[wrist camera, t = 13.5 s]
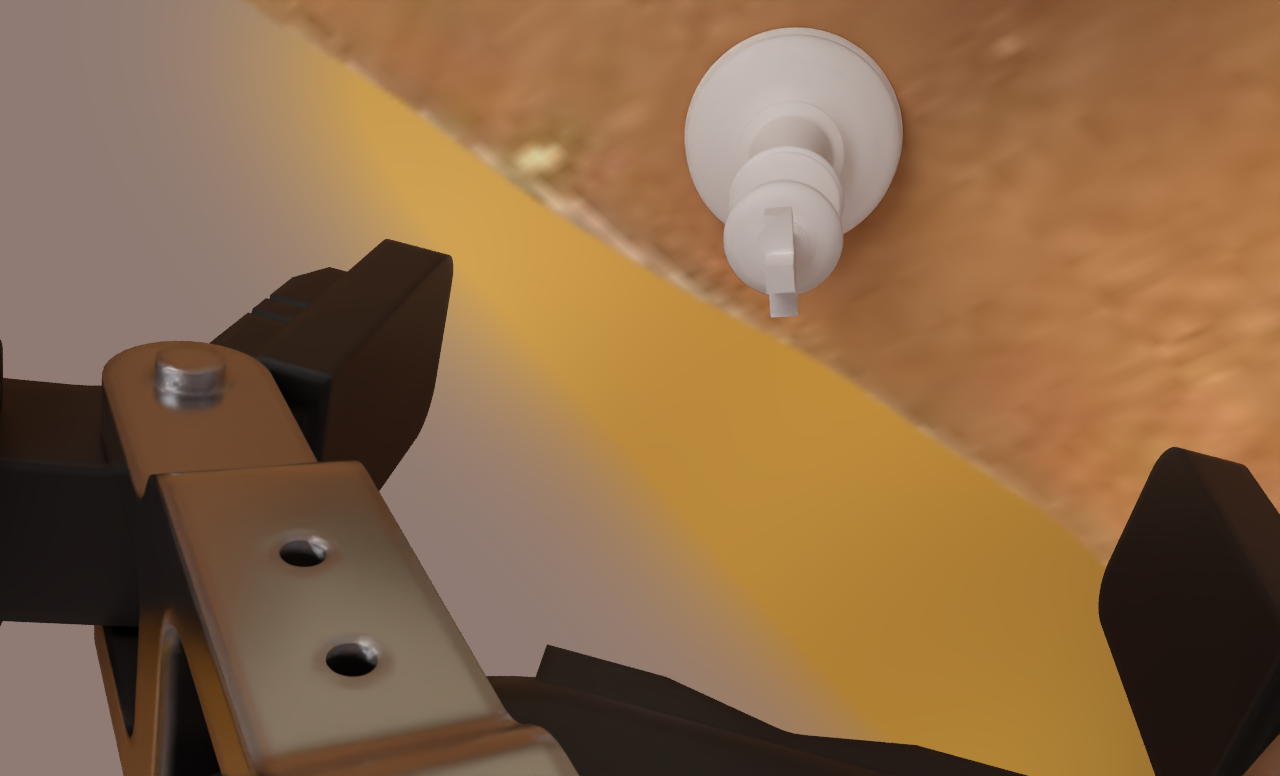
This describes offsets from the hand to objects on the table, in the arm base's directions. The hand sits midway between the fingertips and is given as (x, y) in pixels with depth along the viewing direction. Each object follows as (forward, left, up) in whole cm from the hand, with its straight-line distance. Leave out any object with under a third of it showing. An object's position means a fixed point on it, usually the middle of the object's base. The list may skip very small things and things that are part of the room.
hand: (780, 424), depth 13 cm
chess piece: (0, 0, -16) cm, 16 cm away
